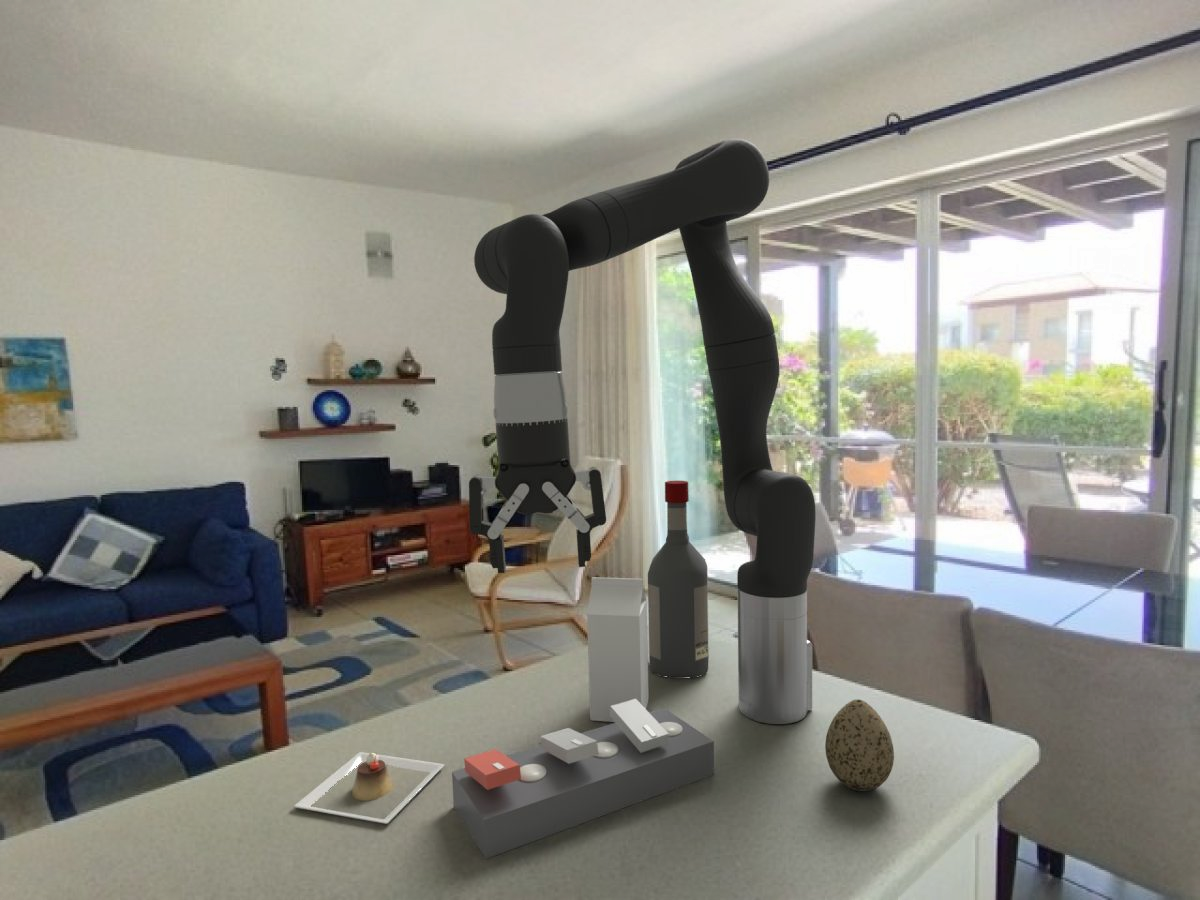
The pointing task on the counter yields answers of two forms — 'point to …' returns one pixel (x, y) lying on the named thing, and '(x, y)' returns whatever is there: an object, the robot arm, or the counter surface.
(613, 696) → the milk carton
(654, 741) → the far rocker
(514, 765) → the red rocker
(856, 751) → the decorative egg
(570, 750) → the middle rocker
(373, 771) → the dessert
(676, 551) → the liquor
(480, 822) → the rocker switch box
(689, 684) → the counter surface
